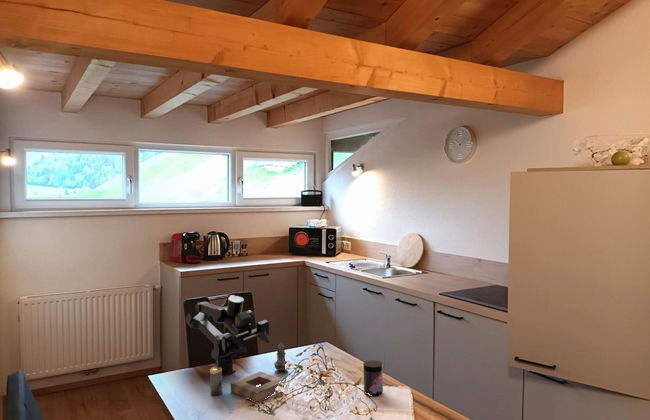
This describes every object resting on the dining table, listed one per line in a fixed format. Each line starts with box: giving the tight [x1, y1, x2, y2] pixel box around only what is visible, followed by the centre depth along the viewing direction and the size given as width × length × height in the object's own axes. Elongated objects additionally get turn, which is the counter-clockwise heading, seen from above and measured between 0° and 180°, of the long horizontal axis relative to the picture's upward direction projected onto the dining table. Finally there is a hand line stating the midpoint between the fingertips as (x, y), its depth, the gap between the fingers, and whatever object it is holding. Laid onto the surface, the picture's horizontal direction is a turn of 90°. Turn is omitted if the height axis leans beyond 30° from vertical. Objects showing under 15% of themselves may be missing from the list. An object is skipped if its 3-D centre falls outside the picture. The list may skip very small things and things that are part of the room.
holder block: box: [230, 371, 283, 403], centre depth 171 cm, size 14×14×4 cm
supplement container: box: [363, 359, 384, 397], centre depth 168 cm, size 7×7×10 cm
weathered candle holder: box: [273, 342, 289, 376], centre depth 189 cm, size 6×6×12 cm
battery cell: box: [209, 366, 223, 397], centre depth 169 cm, size 4×4×9 cm
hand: (258, 347), depth 171 cm, fingers open, 9 cm apart
